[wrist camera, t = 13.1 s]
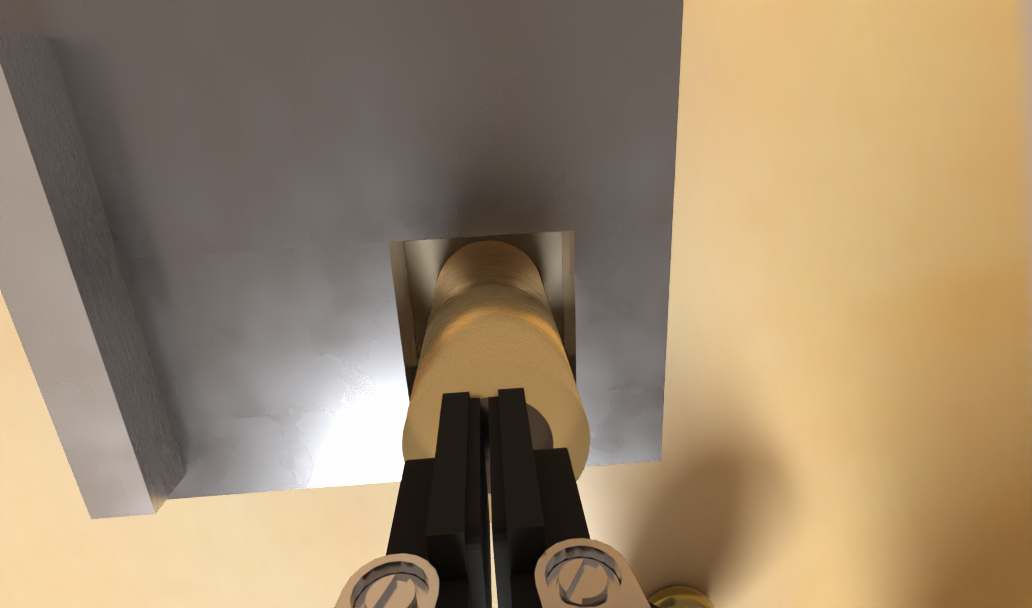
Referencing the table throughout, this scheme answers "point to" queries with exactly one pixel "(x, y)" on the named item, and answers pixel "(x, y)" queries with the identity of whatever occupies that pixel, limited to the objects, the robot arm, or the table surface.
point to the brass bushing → (495, 353)
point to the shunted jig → (317, 219)
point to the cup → (680, 598)
